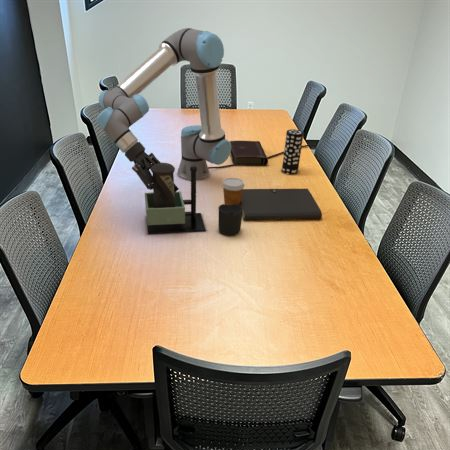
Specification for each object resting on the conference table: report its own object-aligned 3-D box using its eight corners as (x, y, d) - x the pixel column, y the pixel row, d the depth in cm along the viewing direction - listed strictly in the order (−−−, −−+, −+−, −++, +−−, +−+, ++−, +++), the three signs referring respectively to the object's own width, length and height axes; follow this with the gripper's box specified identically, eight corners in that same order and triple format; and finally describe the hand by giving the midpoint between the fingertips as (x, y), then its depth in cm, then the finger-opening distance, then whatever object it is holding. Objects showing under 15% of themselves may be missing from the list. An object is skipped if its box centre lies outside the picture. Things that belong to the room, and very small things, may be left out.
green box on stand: (200, 214, 193) (201, 158, 178) (205, 231, 182) (206, 172, 167) (146, 217, 189) (142, 159, 175) (148, 234, 178) (143, 174, 163)
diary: (260, 149, 259) (260, 140, 256) (267, 166, 240) (268, 156, 237) (227, 149, 257) (227, 140, 254) (232, 166, 238) (233, 156, 235)
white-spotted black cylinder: (279, 172, 233) (284, 133, 221) (284, 167, 239) (289, 128, 227) (295, 175, 231) (301, 135, 219) (299, 170, 237) (305, 131, 225)
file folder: (307, 187, 210) (322, 212, 191) (306, 195, 213) (320, 221, 194) (237, 188, 206) (244, 213, 188) (236, 196, 209) (244, 222, 190)
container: (172, 220, 178) (170, 171, 166) (150, 217, 179) (147, 168, 167) (178, 210, 185) (177, 162, 173) (157, 207, 186) (154, 159, 174)
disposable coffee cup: (245, 205, 202) (247, 179, 195) (238, 214, 195) (240, 188, 187) (225, 201, 204) (226, 175, 197) (217, 210, 197) (218, 184, 190)
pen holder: (233, 239, 178) (234, 216, 172) (213, 232, 182) (213, 209, 176) (245, 229, 184) (247, 207, 178) (225, 223, 188) (226, 200, 182)
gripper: (138, 144, 180) (176, 190, 186) (111, 162, 165) (154, 211, 171) (150, 133, 176) (188, 180, 182) (123, 150, 160) (166, 201, 166)
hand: (171, 195), depth 176 cm, fingers closed on container, 8 cm apart
